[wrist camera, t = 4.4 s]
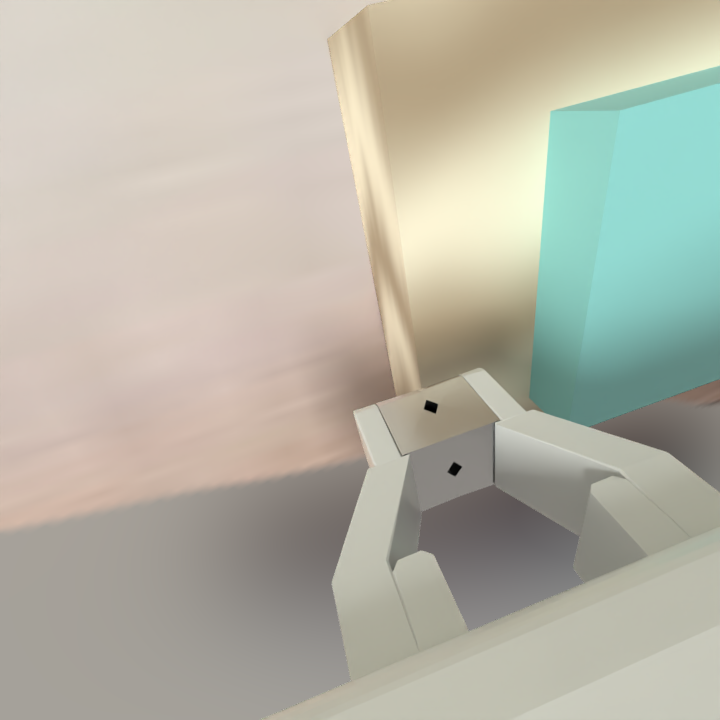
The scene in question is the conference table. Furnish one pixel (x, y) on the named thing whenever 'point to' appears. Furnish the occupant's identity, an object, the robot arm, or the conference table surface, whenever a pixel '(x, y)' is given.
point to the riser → (481, 155)
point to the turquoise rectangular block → (629, 251)
